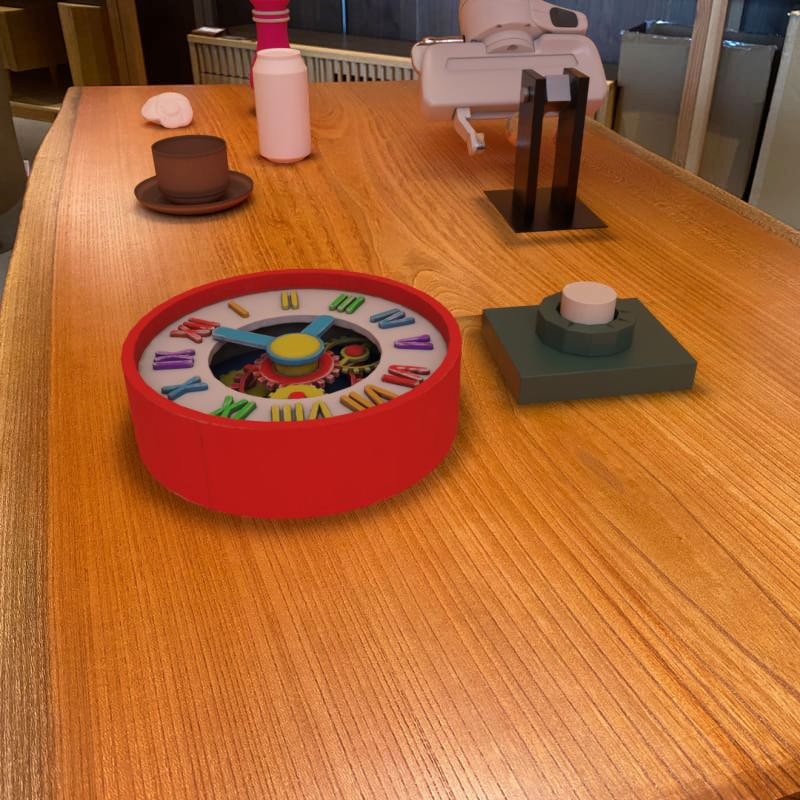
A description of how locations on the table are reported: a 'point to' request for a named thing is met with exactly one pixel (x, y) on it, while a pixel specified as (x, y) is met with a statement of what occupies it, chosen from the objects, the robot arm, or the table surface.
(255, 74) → the beverage can
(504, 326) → the button box
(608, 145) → the table surface
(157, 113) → the spiral seashell
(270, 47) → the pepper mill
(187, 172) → the cup and saucer
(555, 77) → the lever
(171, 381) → the toy clock
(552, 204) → the bracket
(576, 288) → the button
